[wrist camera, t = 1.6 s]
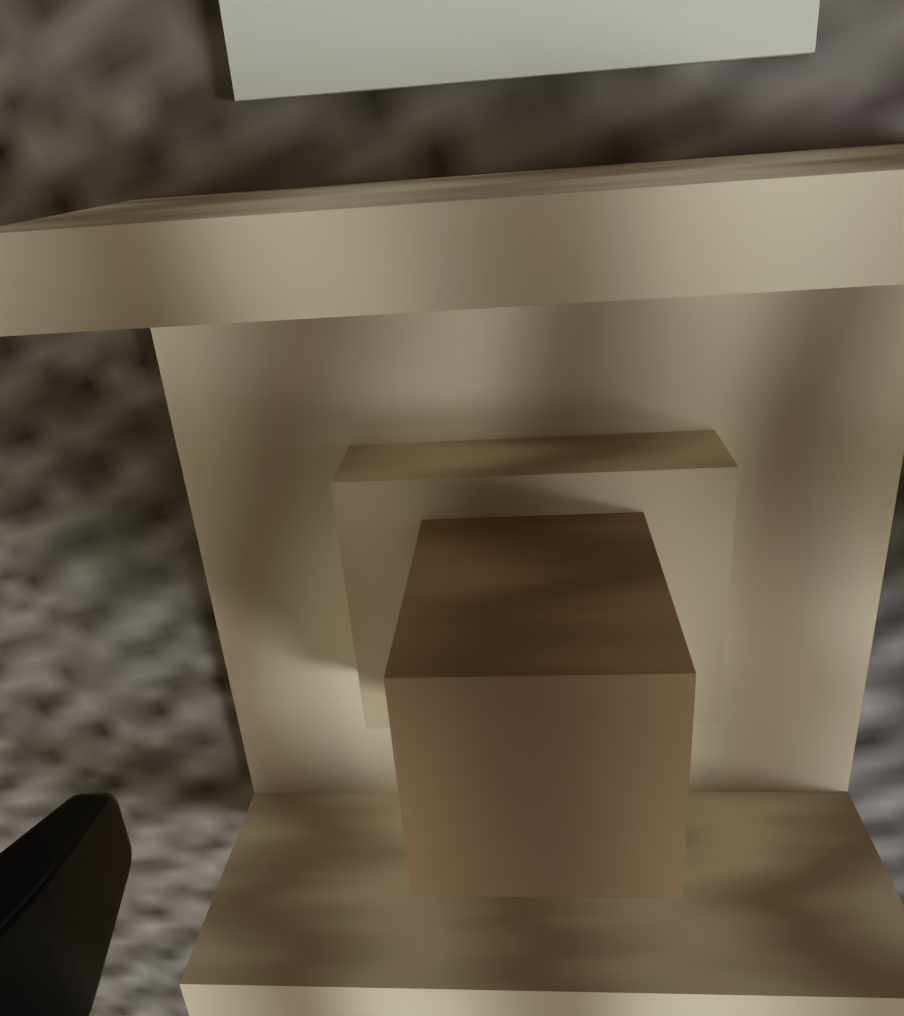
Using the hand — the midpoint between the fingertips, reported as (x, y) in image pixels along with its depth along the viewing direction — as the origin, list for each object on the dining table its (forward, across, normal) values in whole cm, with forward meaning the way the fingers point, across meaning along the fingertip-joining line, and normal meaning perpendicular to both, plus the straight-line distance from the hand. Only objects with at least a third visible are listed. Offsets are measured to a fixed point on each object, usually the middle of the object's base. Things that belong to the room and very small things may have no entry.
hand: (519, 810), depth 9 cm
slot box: (+13, -1, +4) cm, 14 cm away
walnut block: (+10, -1, +4) cm, 11 cm away
